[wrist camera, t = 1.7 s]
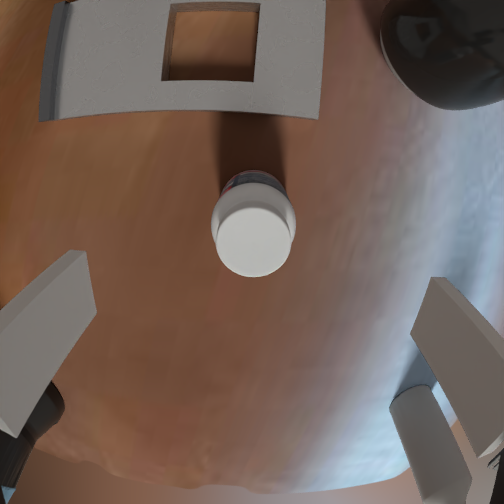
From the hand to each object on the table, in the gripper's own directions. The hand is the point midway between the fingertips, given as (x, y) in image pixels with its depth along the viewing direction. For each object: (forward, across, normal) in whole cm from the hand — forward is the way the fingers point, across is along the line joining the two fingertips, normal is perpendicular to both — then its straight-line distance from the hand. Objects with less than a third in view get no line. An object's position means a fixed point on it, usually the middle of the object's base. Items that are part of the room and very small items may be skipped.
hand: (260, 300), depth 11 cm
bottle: (+15, +24, -25) cm, 38 cm away
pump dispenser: (+15, +12, +15) cm, 24 cm away
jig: (+14, -7, +12) cm, 20 cm away
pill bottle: (+15, 0, 0) cm, 15 cm away
